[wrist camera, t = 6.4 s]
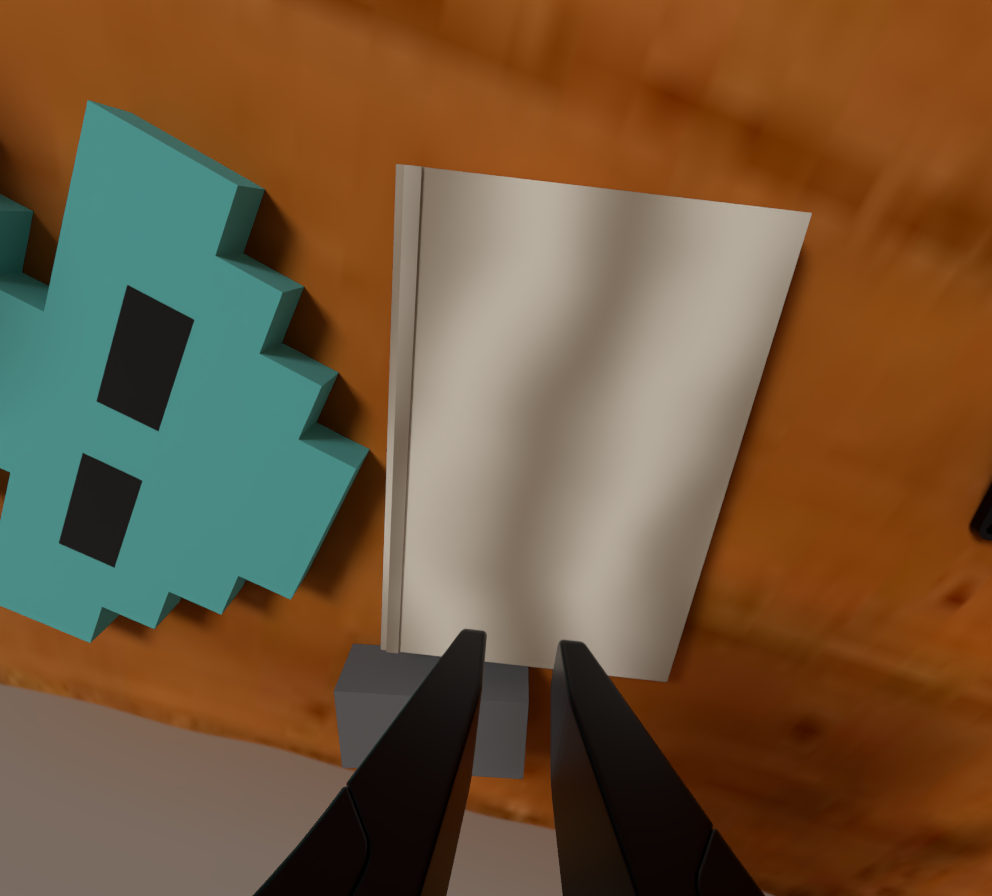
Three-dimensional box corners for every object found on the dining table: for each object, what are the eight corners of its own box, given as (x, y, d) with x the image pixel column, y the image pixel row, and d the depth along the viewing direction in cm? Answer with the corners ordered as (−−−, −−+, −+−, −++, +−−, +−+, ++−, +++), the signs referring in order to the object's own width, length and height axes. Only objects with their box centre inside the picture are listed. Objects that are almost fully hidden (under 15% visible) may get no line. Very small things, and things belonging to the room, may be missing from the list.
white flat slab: (787, 214, 17) (813, 212, 15) (658, 655, 24) (667, 684, 22) (406, 168, 17) (395, 164, 15) (388, 624, 24) (380, 651, 22)
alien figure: (-180, 477, 23) (261, 666, 26) (-249, 502, 21) (238, 704, 24) (-155, -54, 16) (449, 292, 19) (-257, -96, 14) (440, 300, 17)
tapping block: (528, 649, 24) (528, 703, 22) (522, 720, 26) (522, 779, 23) (354, 639, 25) (333, 691, 22) (360, 710, 26) (342, 767, 24)
